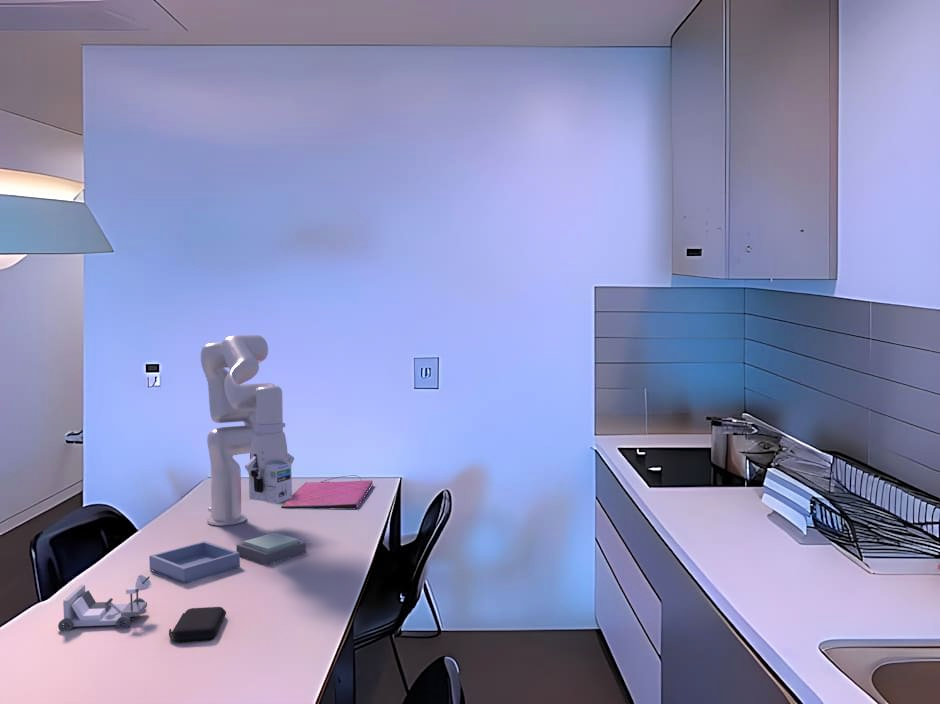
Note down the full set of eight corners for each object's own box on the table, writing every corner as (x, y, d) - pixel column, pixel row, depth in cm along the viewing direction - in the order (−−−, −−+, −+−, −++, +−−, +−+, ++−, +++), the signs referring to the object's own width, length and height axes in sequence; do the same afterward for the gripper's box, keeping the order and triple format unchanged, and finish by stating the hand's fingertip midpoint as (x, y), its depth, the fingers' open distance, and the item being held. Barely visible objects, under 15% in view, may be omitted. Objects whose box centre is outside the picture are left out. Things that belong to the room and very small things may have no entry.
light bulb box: (293, 498, 227) (292, 461, 227) (277, 503, 221) (277, 465, 221) (263, 494, 232) (263, 458, 231) (248, 499, 226) (247, 462, 225)
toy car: (156, 569, 187) (140, 586, 175) (157, 609, 187) (142, 629, 176) (77, 572, 185) (56, 589, 173) (78, 612, 186) (58, 633, 174)
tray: (149, 570, 214) (149, 555, 214) (205, 554, 227) (204, 541, 227) (184, 584, 203) (183, 568, 203) (239, 566, 216) (239, 552, 216)
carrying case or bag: (180, 619, 182) (164, 646, 167) (179, 606, 181) (163, 632, 167) (227, 616, 183) (215, 643, 168) (227, 603, 183) (215, 629, 168)
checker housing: (236, 555, 227) (236, 544, 226) (276, 543, 238) (275, 533, 237) (266, 565, 218) (266, 554, 218) (305, 552, 229) (305, 542, 229)
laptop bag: (356, 499, 277) (280, 501, 278) (357, 511, 277) (281, 512, 278) (374, 474, 317) (308, 475, 318) (374, 484, 317) (308, 485, 318)
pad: (243, 546, 227) (243, 541, 227) (275, 537, 235) (274, 532, 235) (267, 553, 220) (267, 548, 220) (298, 544, 228) (298, 539, 228)
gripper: (285, 424, 235) (286, 482, 235) (235, 431, 221) (237, 493, 222) (301, 426, 230) (302, 485, 231) (251, 434, 216) (253, 496, 217)
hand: (270, 488), depth 226 cm, fingers closed on light bulb box, 7 cm apart
